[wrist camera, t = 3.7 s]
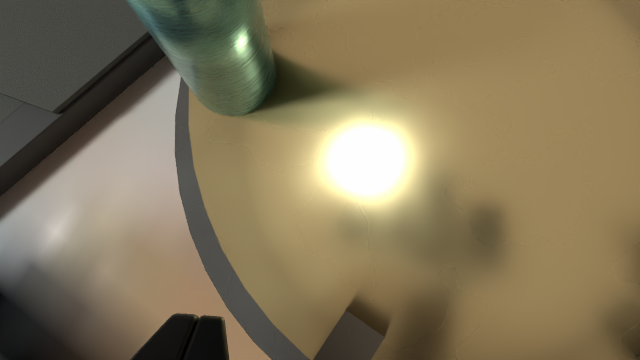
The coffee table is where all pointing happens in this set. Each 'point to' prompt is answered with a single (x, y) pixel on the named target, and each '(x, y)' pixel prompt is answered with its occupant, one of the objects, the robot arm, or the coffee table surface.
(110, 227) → the coffee table surface
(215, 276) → the dark grey round disc
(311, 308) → the tan round piece
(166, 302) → the coffee table surface
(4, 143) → the picture frame
